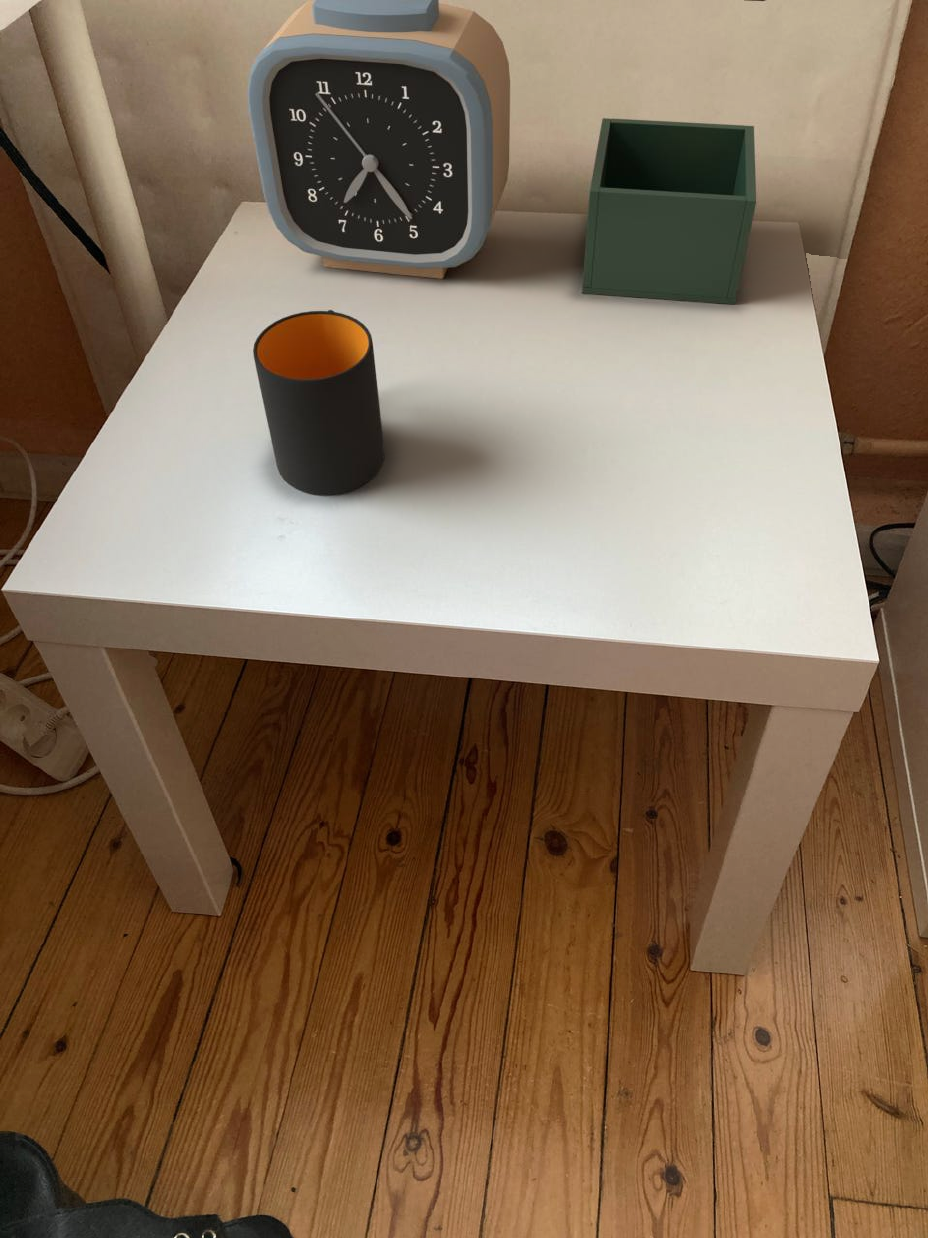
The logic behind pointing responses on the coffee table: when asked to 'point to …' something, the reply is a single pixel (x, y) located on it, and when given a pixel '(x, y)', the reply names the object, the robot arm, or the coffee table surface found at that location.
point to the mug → (321, 400)
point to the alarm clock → (383, 132)
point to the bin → (670, 210)
